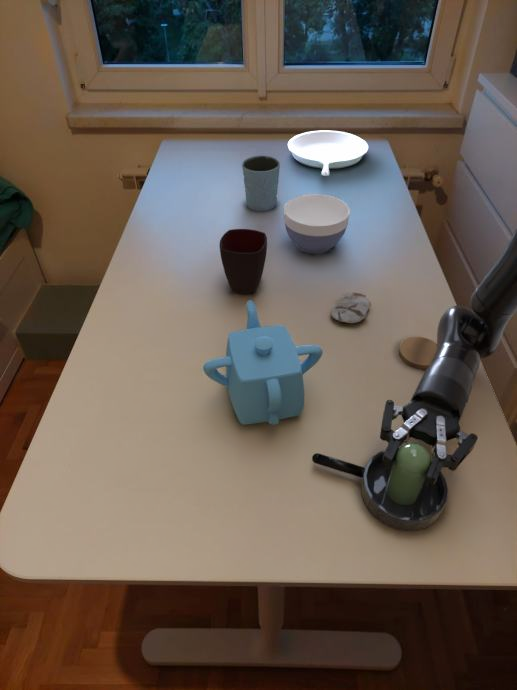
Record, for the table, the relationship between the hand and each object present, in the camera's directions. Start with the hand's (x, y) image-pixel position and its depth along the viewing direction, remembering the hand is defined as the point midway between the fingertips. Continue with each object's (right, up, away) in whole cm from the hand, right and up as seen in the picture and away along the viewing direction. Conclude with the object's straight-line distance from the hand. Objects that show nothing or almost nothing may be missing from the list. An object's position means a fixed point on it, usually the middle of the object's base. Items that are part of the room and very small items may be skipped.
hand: (407, 473), depth 68 cm
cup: (-23, +32, +48) cm, 62 cm away
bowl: (-6, +43, +59) cm, 73 cm away
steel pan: (+1, -5, +8) cm, 9 cm away
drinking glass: (-19, +57, +75) cm, 96 cm away
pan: (+2, +76, +95) cm, 121 cm away
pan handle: (-8, -2, +9) cm, 12 cm away
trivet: (+11, +16, +30) cm, 35 cm away
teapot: (-20, +9, +23) cm, 32 cm away
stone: (-1, +24, +39) cm, 46 cm away
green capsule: (+1, -5, +7) cm, 9 cm away
